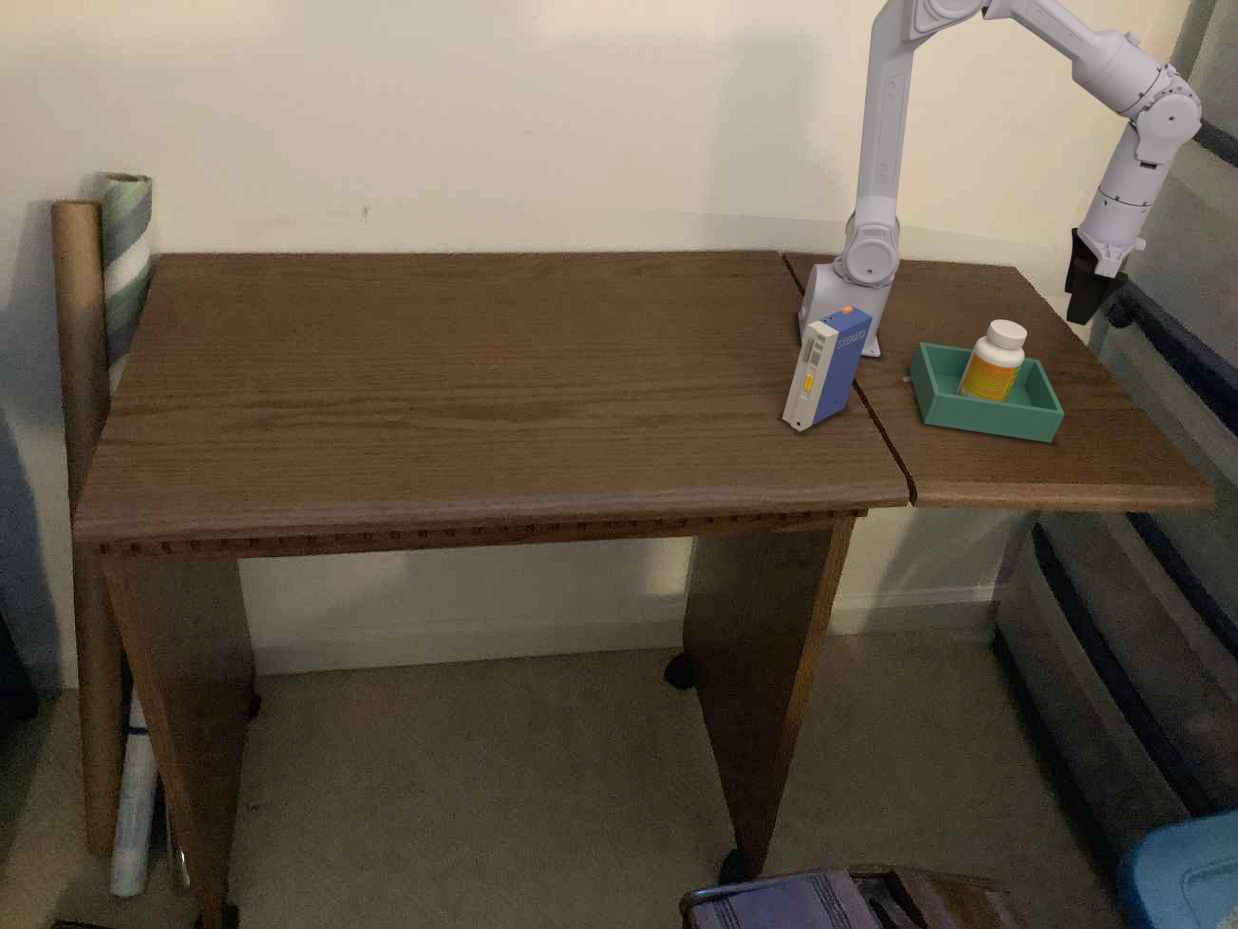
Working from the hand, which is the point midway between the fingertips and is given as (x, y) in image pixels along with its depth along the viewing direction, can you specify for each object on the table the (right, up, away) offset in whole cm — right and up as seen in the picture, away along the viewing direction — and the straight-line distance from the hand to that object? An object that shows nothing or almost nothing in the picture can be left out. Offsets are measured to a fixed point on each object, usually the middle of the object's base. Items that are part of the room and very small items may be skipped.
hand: (1074, 307), depth 116 cm
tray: (-11, -11, 0) cm, 16 cm away
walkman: (-31, -13, -6) cm, 34 cm away
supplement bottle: (-11, -11, 0) cm, 16 cm away
